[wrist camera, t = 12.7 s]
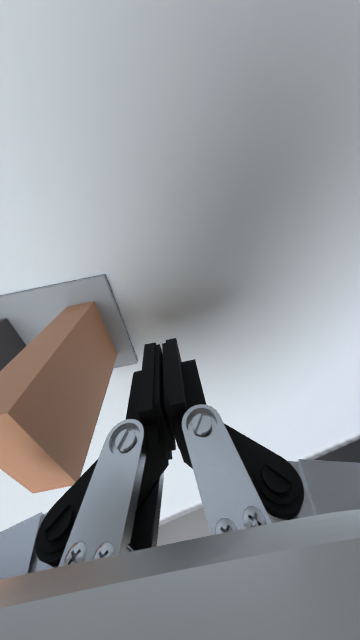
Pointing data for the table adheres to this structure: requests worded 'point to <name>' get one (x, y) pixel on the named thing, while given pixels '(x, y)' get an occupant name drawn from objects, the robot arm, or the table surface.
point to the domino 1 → (9, 343)
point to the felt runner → (48, 302)
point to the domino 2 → (55, 399)
